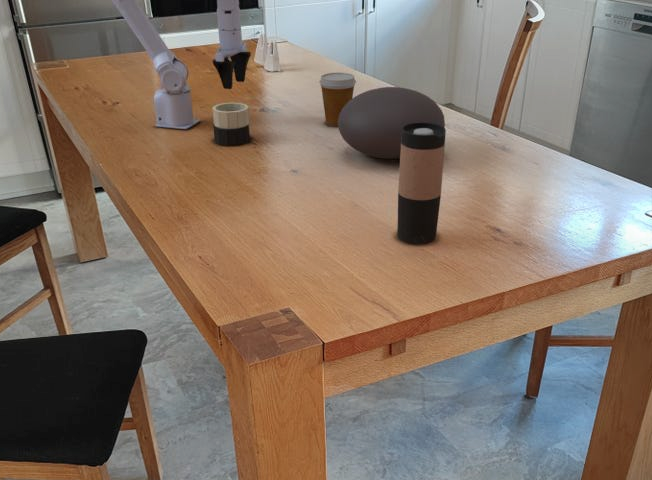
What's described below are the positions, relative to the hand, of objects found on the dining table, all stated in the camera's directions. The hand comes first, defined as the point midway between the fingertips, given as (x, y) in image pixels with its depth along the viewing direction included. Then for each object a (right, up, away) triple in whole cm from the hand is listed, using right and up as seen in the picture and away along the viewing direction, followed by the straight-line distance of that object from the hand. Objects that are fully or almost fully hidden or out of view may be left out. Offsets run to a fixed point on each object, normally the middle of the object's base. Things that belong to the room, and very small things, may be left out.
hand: (234, 85), depth 189 cm
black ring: (0, -16, -7) cm, 18 cm away
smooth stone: (+39, -23, -17) cm, 49 cm away
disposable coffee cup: (+27, -9, +4) cm, 29 cm away
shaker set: (+5, +27, +57) cm, 63 cm away
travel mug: (+41, -49, -55) cm, 84 cm away
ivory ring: (0, -13, -8) cm, 15 cm away
